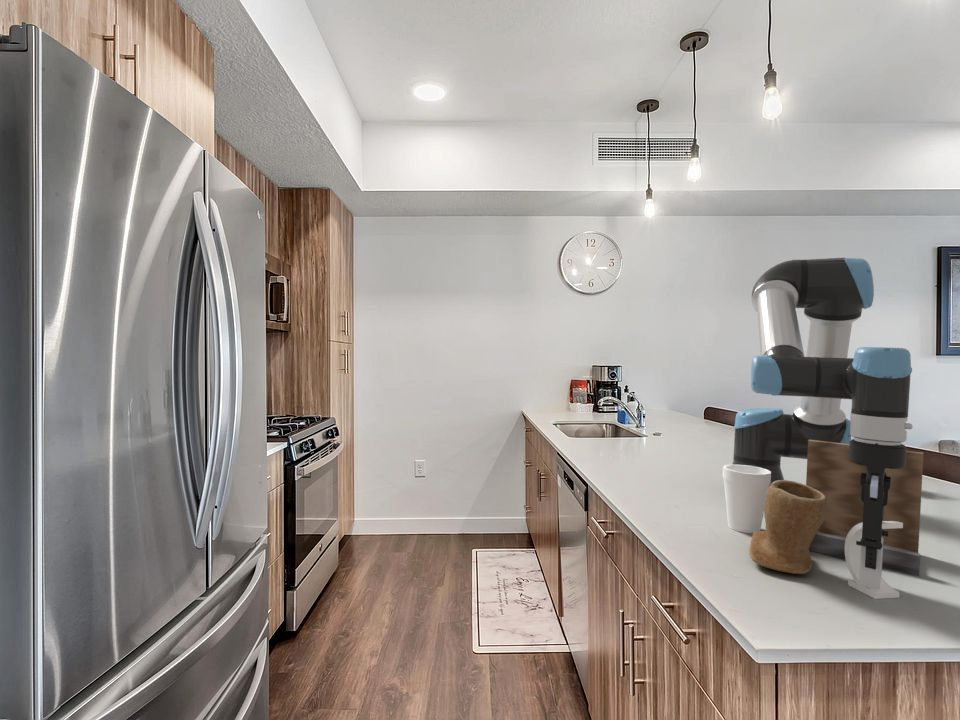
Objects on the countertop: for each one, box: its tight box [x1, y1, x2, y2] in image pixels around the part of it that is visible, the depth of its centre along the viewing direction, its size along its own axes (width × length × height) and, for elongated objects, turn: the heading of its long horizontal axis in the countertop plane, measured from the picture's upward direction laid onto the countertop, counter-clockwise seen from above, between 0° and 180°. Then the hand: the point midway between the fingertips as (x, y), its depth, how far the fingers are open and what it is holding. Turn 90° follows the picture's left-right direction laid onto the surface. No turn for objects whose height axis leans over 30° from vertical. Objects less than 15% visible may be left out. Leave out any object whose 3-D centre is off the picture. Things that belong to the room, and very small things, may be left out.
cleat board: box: [805, 440, 924, 576], centre depth 104 cm, size 19×14×20 cm
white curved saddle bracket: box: [844, 521, 903, 600], centre depth 87 cm, size 5×6×12 cm
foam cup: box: [722, 464, 771, 534], centre depth 116 cm, size 10×9×13 cm
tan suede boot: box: [748, 479, 828, 575], centre depth 97 cm, size 15×12×15 cm
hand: (870, 579), depth 88 cm, fingers closed on white curved saddle bracket, 6 cm apart
